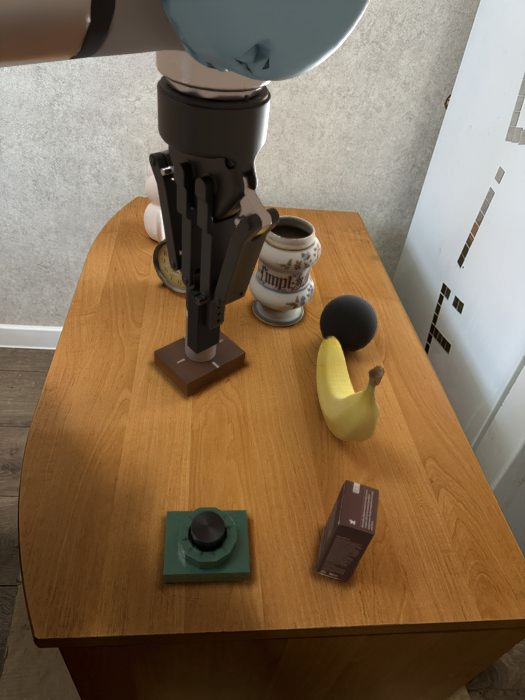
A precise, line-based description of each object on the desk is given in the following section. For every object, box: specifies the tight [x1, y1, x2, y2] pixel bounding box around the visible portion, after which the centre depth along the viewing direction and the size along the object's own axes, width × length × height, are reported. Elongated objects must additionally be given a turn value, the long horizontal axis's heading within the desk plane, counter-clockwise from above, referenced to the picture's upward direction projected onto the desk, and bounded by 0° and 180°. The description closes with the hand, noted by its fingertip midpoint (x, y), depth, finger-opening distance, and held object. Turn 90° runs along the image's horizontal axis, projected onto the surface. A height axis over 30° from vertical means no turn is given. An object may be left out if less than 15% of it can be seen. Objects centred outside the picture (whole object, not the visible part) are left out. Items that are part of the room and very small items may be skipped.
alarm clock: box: [152, 239, 186, 295], centre depth 97 cm, size 11×5×16 cm, turn 65°
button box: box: [162, 506, 251, 584], centre depth 64 cm, size 10×8×4 cm
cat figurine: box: [143, 164, 174, 243], centre depth 111 cm, size 9×12×15 cm
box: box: [315, 479, 380, 583], centre depth 62 cm, size 6×4×12 cm
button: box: [191, 511, 225, 551], centre depth 62 cm, size 4×4×2 cm
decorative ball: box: [319, 294, 379, 353], centre depth 93 cm, size 10×10×10 cm
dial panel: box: [153, 330, 247, 397], centre depth 87 cm, size 12×9×3 cm
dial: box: [184, 309, 216, 362], centre depth 84 cm, size 5×5×8 cm
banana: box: [315, 336, 386, 443], centre depth 77 cm, size 23×6×20 cm, turn 4°
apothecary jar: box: [248, 215, 322, 327], centre depth 95 cm, size 12×12×18 cm
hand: (203, 344), depth 51 cm, fingers closed
